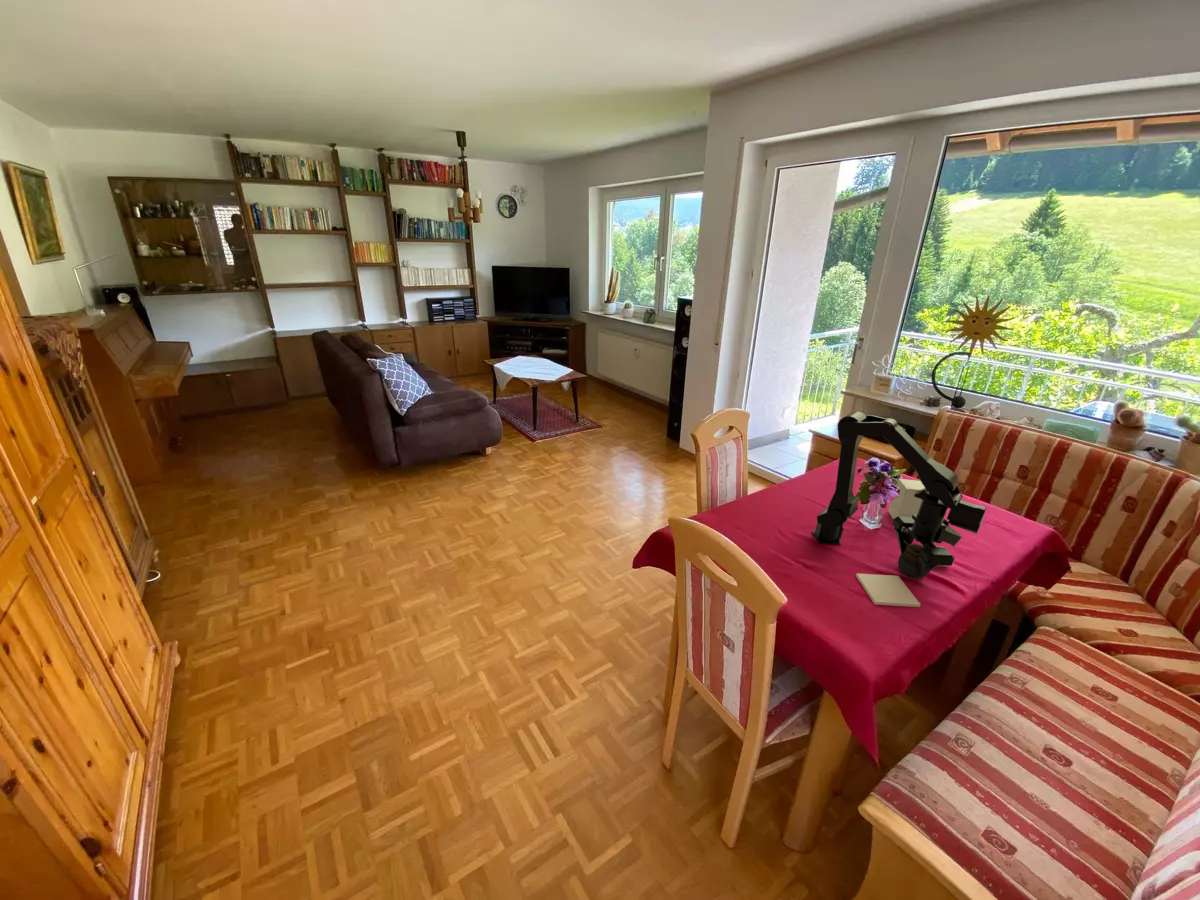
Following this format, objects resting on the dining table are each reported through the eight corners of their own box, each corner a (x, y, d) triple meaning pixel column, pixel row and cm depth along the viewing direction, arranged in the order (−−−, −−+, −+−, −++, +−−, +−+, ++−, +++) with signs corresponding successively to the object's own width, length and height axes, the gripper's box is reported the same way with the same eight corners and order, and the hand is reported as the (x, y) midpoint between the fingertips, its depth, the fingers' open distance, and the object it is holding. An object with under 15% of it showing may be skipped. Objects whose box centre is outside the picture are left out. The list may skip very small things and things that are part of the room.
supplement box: (919, 526, 156) (932, 491, 151) (894, 523, 157) (906, 488, 152) (911, 514, 163) (923, 480, 157) (887, 511, 164) (898, 477, 159)
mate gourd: (930, 583, 130) (942, 552, 126) (899, 580, 131) (910, 549, 127) (919, 566, 137) (929, 537, 132) (890, 563, 138) (899, 533, 134)
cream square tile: (874, 604, 122) (875, 601, 122) (855, 575, 132) (856, 573, 132) (919, 607, 122) (920, 604, 121) (897, 578, 132) (898, 575, 131)
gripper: (986, 539, 118) (964, 590, 124) (940, 500, 135) (923, 547, 141) (938, 536, 118) (919, 588, 124) (899, 497, 135) (884, 544, 141)
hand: (912, 565), depth 133 cm, fingers open, 9 cm apart
